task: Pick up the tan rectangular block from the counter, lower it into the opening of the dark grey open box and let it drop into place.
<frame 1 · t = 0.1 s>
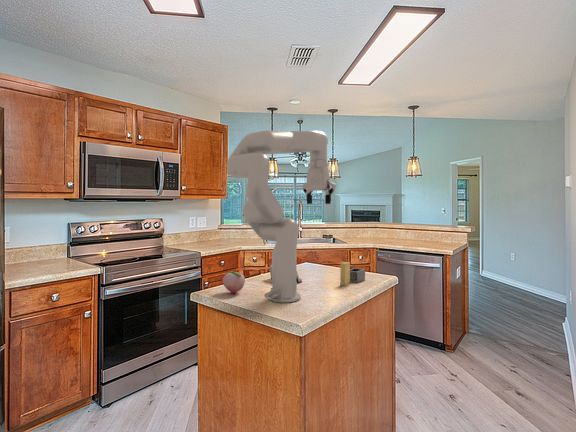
hand: (318, 203, 149), 37 cm above the counter, tool pointing down, fingers open, 9 cm apart
tan rectangular block: (345, 284, 153), on the counter
dark grey open box: (355, 280, 161), on the counter
hinge: (284, 281, 161), on the counter
decorative fruit: (234, 293, 140), on the counter
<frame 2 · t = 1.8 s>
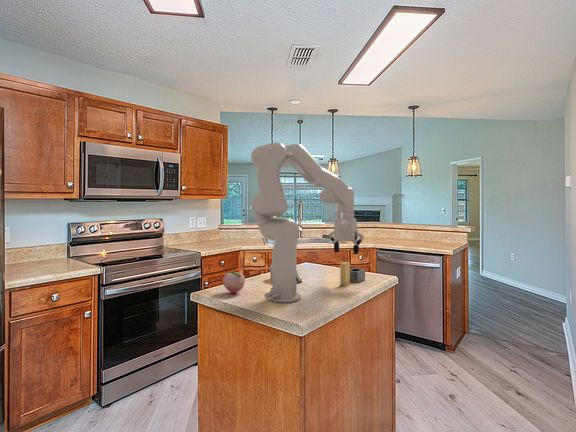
hand: (346, 253, 152), 14 cm above the counter, tool pointing down, fingers open, 9 cm apart
nothing on the counter moved.
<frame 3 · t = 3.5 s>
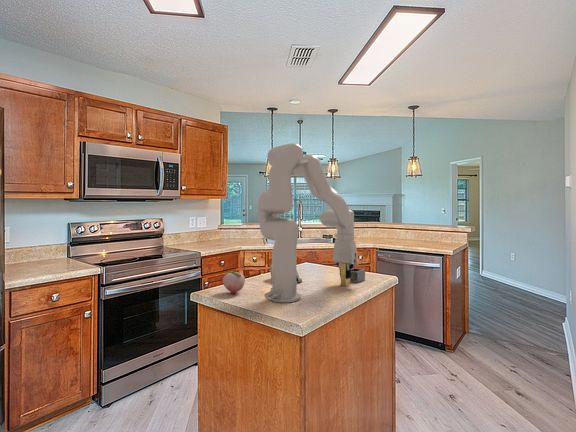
hand: (345, 277, 153), 3 cm above the counter, tool pointing down, fingers closed on tan rectangular block, 2 cm apart
tan rectangular block: (345, 284, 153), on the counter, touching gripper
everything else where it was.
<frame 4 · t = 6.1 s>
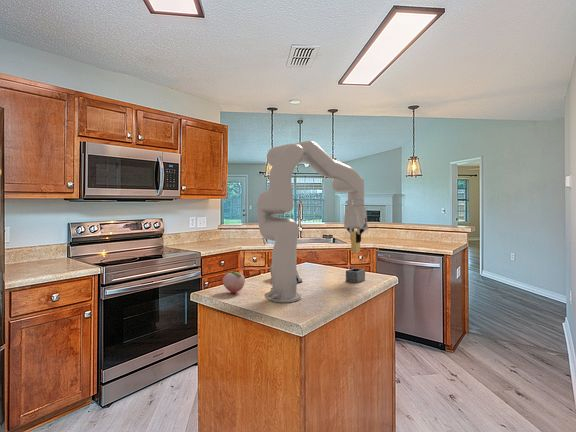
hand: (355, 242, 160), 18 cm above the counter, tool pointing down, fingers closed on tan rectangular block
tan rectangular block: (355, 252, 160), point 13 cm above the counter, touching gripper
everything else where it was.
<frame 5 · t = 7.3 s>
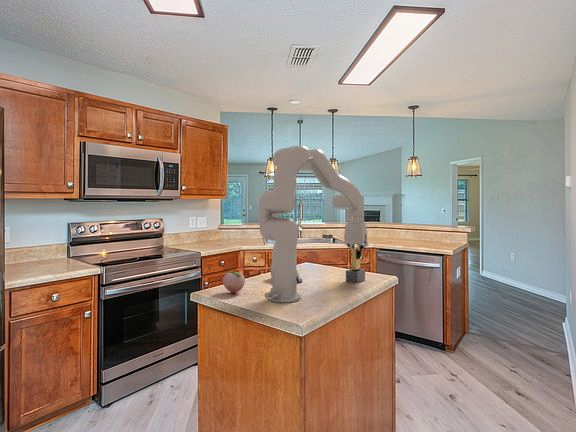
hand: (355, 258, 160), 11 cm above the counter, tool pointing down, fingers closed on tan rectangular block
tan rectangular block: (355, 268, 160), point 6 cm above the counter, touching gripper
everything else where it was.
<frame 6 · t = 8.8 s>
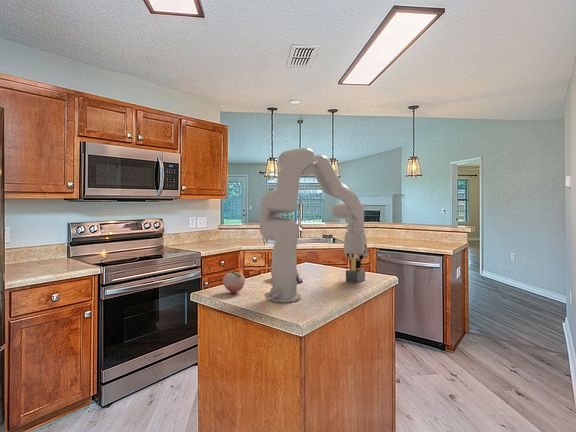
hand: (355, 267, 160), 6 cm above the counter, tool pointing down, fingers closed on tan rectangular block, 2 cm apart
tan rectangular block: (355, 278, 160), point 1 cm above the counter, touching gripper
everything else where it was.
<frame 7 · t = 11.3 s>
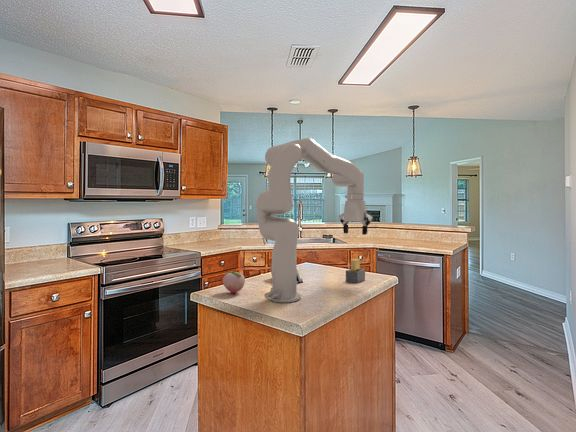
hand: (355, 233, 159), 22 cm above the counter, tool pointing down, fingers open, 9 cm apart
tan rectangular block: (355, 280, 160), resting in dark grey open box
everything else where it was.
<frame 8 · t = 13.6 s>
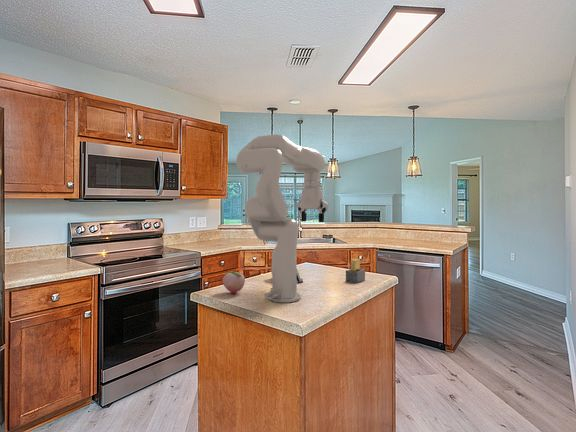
hand: (312, 221, 156), 28 cm above the counter, tool pointing down, fingers open, 9 cm apart
nothing on the counter moved.
at the end: tan rectangular block 0.1 cm off-centre on the dark grey open box, point 0.0 cm above the dark grey open box's base; tan rectangular block tilted 0°; the gripper is holding nothing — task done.
